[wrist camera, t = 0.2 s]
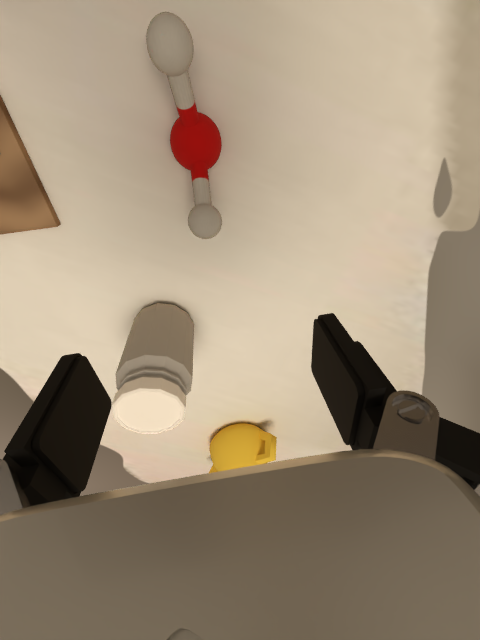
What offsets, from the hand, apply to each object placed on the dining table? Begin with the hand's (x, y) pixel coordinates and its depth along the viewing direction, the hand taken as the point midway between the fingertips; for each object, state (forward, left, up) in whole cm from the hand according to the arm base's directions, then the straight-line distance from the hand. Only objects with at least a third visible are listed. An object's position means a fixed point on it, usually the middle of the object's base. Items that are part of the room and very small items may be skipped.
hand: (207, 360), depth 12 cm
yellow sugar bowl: (+56, 0, -31) cm, 64 cm away
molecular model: (-7, 0, -31) cm, 32 cm away
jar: (+18, -10, -31) cm, 37 cm away
